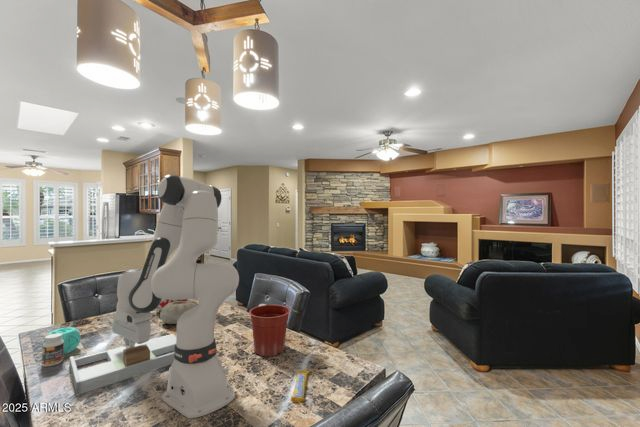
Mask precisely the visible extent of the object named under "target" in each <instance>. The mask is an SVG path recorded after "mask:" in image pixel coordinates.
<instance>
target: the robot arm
mask: <svg viewBox="0 0 640 427" xmlns="http://www.w3.org/2000/svg"><path fill="white" fill-rule="evenodd" d="M157 197H158V199H159V200H160V201H161V202H162V203H163V206H162V207H161V210H160V213H159V215H158V219H157V222H156V226H155V231H154V235H153V239H152V241H151V243H150V244H151V245H150V248H149V251H148V252H147V256H146V258H145V261H144V264H143V267H141V268H140V267H139V268H137V267H136V268H132V269H128V270H125V271H123V272H121V273H120V274H119V276H118V278H117V279H118V280H117V286H116V287H117V288H116V296H117V302H116V311H115V314H114V315H113V318H112V319H113V320H112V333H114V334H115V335H118V336H120V337H123V341H124V344H125V346H126V349H128V348H132V347H135V343H138V344H142V343H145V342H147V341H148V340H150V339H151V328H152V326H151V325H152V324H151V323H152V322H151V319H152V317H153V316H152V313H151V312H153V311H154V310H156V309H157V308H158V307H157V306H158V305H159V304H160V303H162V302H163V301H164V300H165V299H169V300H182V299H188V300H198V303H197V304H196V305H197V306H195V307H194V308H192V309H190V310H188V311H186V312H184V313H183V314H182V315H181V316H180V317H179V319H178V321H177V324H176V332H175V333H176V335H175V336H176V344H175V348H174V351H173V352H174V358H175V360H174V362H173V364H170V365H169V366H170V367H169V369H168V373H167V374H168V375H167V386H166V387H167V388H166V391H164V392H163V393H162V395H161V400H162V402H164V403H166V404H167V405H169V406H170V407H171V408H173V409H174V410H176V411H177V412H179V413H180V414H181V415H182V416H184V417H186V418H187V419H195V418H200V417H203V416H206V415H208V414H211V413H213V412H216V411H218V410H219V409H222V408H223V407H225V406H227V405H228V404H230V403H231V402H232V401H233V400H234V399H235V398H236V393H235V391H234V389H233V388H232V386H231V384H230V382H229V381H228V379H227V375H228V374H229V368H228V366H224V367H223V364H222V362H223V360H222V358H219V356H218V353H217V352H218V350H217V343H216V339H215V326H216V319H217V314H218V312H219V310H220V307H221V306H222V304H223V303H224V302H225V300H227V298H229V297H230V296H232V295H233V294H234V293H235V292H236V290H237V288H238V286H239V282H240V275H239V272H238V270H237V269H236V267H235V266H234V265H232V264H227V263H219V262H216V263H215V262H211V263H210V262H209V263H208V262H207V263H206V262H205V263H198V262H197V260H198V258H200V256H201V255H204V254H205V253H208V252H210V251H212V250H214V249H215V247H216V245H217V244H218V230H219V229H218V228H219V227H218V226H219V208H220V205H221V203H222V198H223V197H222V192H221V191H220V189H219V188H218V187H216V186H214V185H211V184H207V183H205V182H202V181H198V180H196V179H193V178H188V177H183V176H179V175H176V174H167V175H165V176H163V177H162V178H161V180H159V183H158V186H157ZM174 252H175V253H174ZM173 253H174V254H173ZM172 254H173V255H172ZM171 255H172V256H171ZM170 256H171V258H170ZM169 258H170V259H169Z"/></svg>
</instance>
